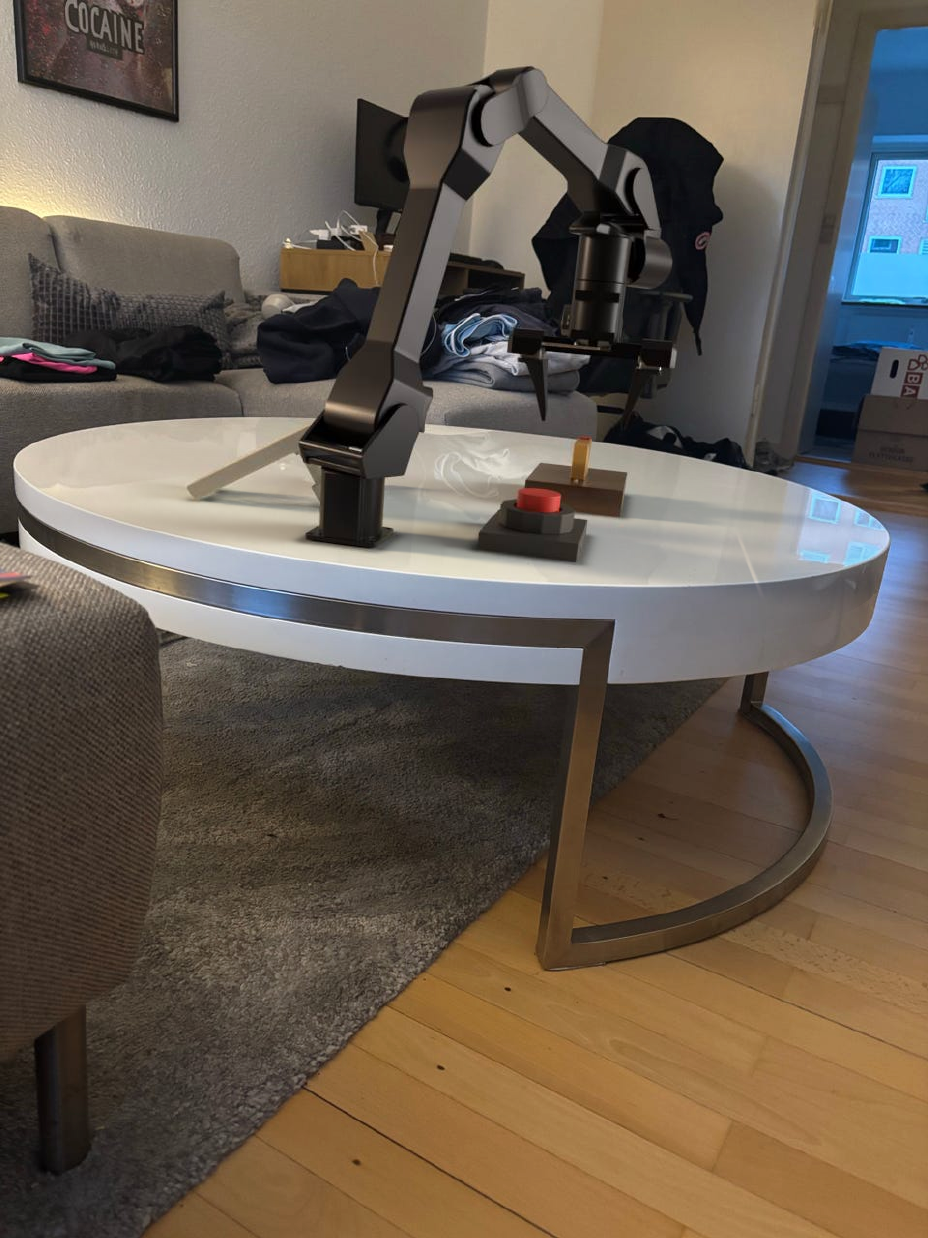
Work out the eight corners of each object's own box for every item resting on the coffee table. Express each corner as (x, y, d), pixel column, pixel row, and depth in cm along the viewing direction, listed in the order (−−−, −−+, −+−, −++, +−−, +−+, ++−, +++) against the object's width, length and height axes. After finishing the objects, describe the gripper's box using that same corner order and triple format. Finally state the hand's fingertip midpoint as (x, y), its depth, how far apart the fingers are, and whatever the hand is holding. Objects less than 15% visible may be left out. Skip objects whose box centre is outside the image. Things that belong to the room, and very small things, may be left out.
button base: (576, 562, 81) (581, 524, 80) (477, 549, 83) (480, 511, 82) (585, 536, 92) (589, 501, 90) (497, 525, 93) (500, 491, 92)
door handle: (225, 557, 94) (397, 475, 90) (185, 486, 92) (360, 400, 88) (269, 517, 111) (416, 447, 107) (236, 456, 108) (385, 382, 105)
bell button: (556, 517, 84) (558, 498, 83) (513, 512, 85) (515, 493, 84) (560, 509, 88) (562, 491, 87) (519, 504, 88) (521, 486, 88)
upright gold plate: (583, 480, 105) (588, 443, 104) (570, 478, 106) (574, 441, 104) (587, 472, 111) (592, 437, 110) (574, 470, 111) (578, 435, 110)
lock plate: (620, 517, 102) (623, 489, 101) (522, 505, 104) (525, 478, 103) (624, 496, 115) (627, 470, 114) (537, 485, 117) (540, 461, 116)
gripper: (683, 291, 107) (663, 426, 112) (526, 279, 110) (513, 410, 115) (686, 288, 97) (664, 436, 102) (513, 274, 100) (499, 419, 105)
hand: (583, 424), depth 106 cm, fingers open, 9 cm apart
